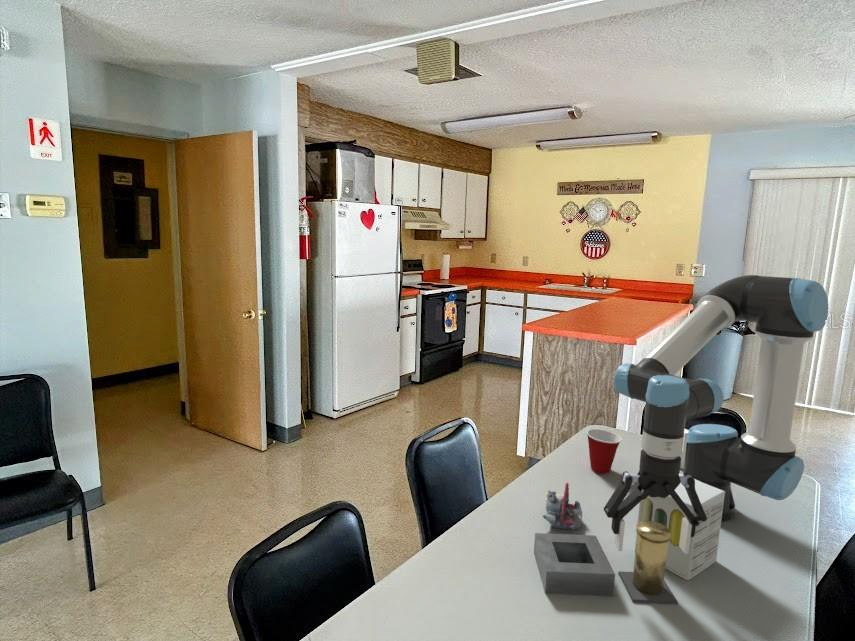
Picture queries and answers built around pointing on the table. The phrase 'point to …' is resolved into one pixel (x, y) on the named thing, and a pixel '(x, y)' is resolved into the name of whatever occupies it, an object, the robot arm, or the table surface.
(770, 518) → the table surface
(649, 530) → the end cover
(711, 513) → the supplement box
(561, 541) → the housing
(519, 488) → the table surface
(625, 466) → the table surface
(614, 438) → the plastic cup
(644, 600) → the mat
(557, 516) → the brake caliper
